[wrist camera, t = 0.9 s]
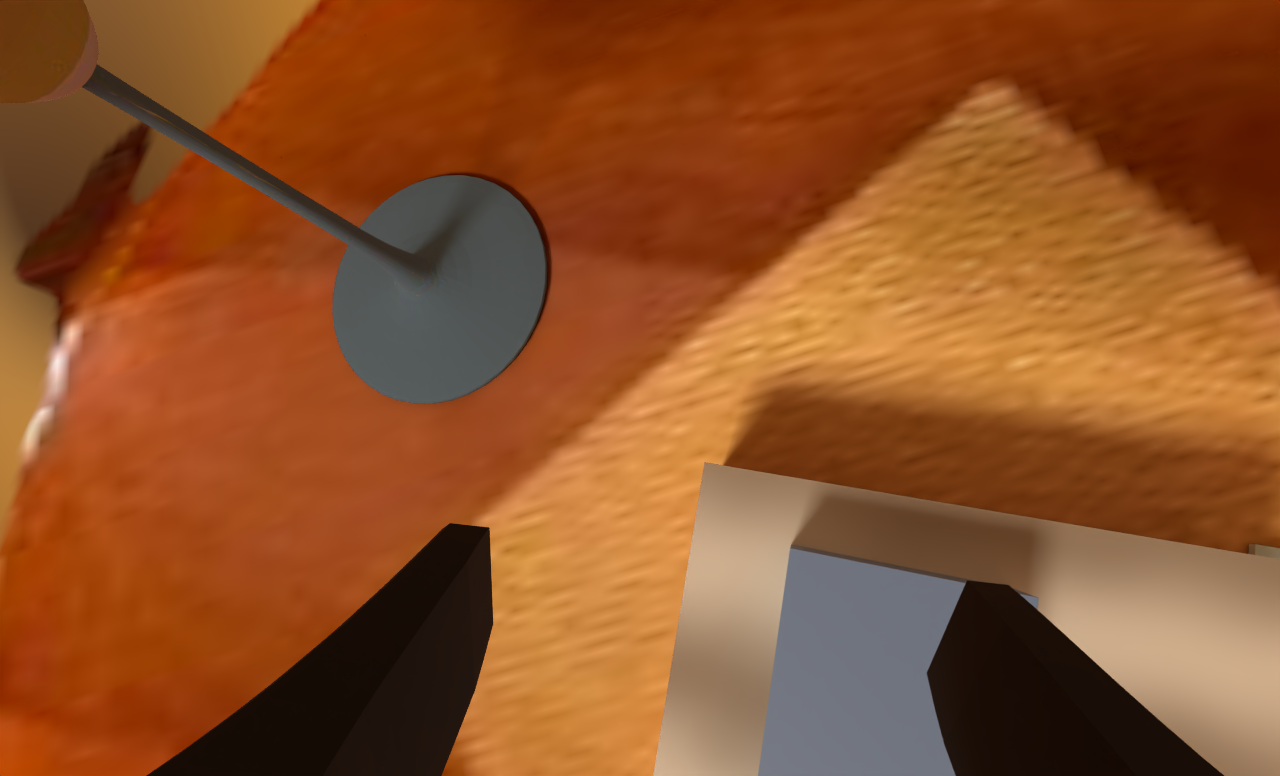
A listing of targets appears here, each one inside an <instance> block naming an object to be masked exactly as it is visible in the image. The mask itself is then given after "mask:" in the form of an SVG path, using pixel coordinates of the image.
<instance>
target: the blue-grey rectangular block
mask: <svg viewBox="0 0 1280 776" xmlns="http://www.w3.org/2000/svg"><path fill="white" fill-rule="evenodd" d="M967 580H969V581H975V580H970V579H965V578H959V577H954V576H949V575H944V574H939V573H934V572H929V571H924V570H919V569H914V568H909V567H904V566H899V565H894V564H889V563H884V562H878V561H873V560H868V559H863V558H858V557H853V556H848V555H843V554H838V553H833V552H828V551H823V550H818V549H813V548H808V547H803V546H798V545H792V544H791V547H790V552H789V559H788V566H787V573H786V580H785V588H784V595H783V602H782V609H781V616H780V623H779V630H778V637H777V644H776V651H775V658H774V665H773V673H772V680H771V687H770V694H769V701H768V708H767V715H766V722H765V729H764V736H763V743H762V750H761V758H760V765H759V772H758V776H956V775H955V773H954V770H953V767H952V765H951V762H950V759H949V756H948V753H947V751H946V748H945V745H944V742H943V738H942V734H941V730H940V727H939V723H938V719H937V715H936V712H935V707H934V703H933V699H932V694H931V690H930V686H929V681H928V677H927V671H928V669H929V666H930V664H931V662H932V659H933V657H934V655H935V653H936V650H937V648H938V646H939V643H940V641H941V639H942V636H943V634H944V632H945V630H946V627H947V625H948V623H949V620H950V618H951V616H952V613H953V611H954V609H955V607H956V604H957V602H958V600H959V597H960V595H961V593H962V591H963V588H964V586H965V584H966V581H967ZM978 582H980V581H978ZM1013 589H1014V588H1013ZM1014 590H1015V591H1016V592H1018V593H1019V594H1020V595H1021V596H1022V597H1024V598H1025V599H1026V600H1027V601H1028V602H1029V603H1030V604H1032V605H1033V606H1034V607H1035V608H1036V609H1037V610H1038V600H1039V598H1038V597H1035V596H1033V595H1030V594H1027V593H1025V592H1022V591H1019V590H1017V589H1014Z"/></svg>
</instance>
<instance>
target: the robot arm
mask: <svg viewBox="0 0 1280 776" xmlns="http://www.w3.org/2000/svg"><path fill="white" fill-rule="evenodd" d="M492 626H493V607H492V581H491V556H490V531H489V528H488V527H479V526H470V525H461V524H452V523H450V524H448V525H447V526H446V527H444V528H443V529H442V530H441V531H440V532H439V533H438V534H437V535H436V536H435V537H434V538H433V539H432V540H431V541H430V542H429V543H428V544H427V545H426V546H425V547H424V548H423V549H422V550H421V551H420V552H419V553H418V554H417V555H416V556H415V557H414V558H413V559H412V560H410V561H409V562H408V563H407V564H406V565H405V566H404V567H403V568H402V569H401V570H400V571H399V572H398V573H397V574H396V575H395V576H394V577H393V578H392V579H391V580H390V581H389V582H388V583H387V584H386V585H384V586H383V587H382V588H381V589H380V590H379V591H378V592H377V593H376V594H375V595H374V596H373V597H371V598H370V599H369V600H368V601H367V602H366V603H365V604H364V605H363V606H362V607H361V608H359V609H358V610H357V611H356V612H355V613H354V614H353V615H352V616H351V617H350V618H348V619H347V620H346V621H345V622H344V623H343V624H342V625H341V626H340V627H339V628H337V629H336V630H335V631H334V632H333V633H332V634H331V635H329V636H328V637H327V638H326V639H325V640H324V641H322V642H321V643H320V644H319V645H318V646H316V647H315V648H314V649H313V650H312V651H310V652H309V653H308V654H307V655H306V656H304V657H303V658H302V659H301V660H300V661H298V662H297V663H296V664H295V665H294V666H292V667H291V668H290V669H289V670H288V671H286V672H285V673H284V674H283V675H282V676H280V677H279V678H278V679H277V680H276V681H274V682H273V683H272V684H271V685H269V686H268V687H267V688H266V689H264V690H263V691H262V692H261V693H259V694H258V695H257V696H255V697H254V698H253V699H252V700H250V701H249V702H248V703H246V704H245V705H244V706H243V707H241V708H240V709H239V710H237V711H236V712H235V713H233V714H232V715H231V716H229V717H228V718H227V719H225V720H224V721H223V722H221V723H220V724H219V725H217V726H216V727H215V728H213V729H212V730H210V731H209V732H208V733H206V734H205V735H204V736H202V737H201V738H200V739H198V740H197V741H195V742H194V743H193V744H191V745H190V746H189V747H187V748H186V749H184V750H183V751H182V752H180V753H179V754H177V755H176V756H174V757H173V758H171V759H170V760H169V761H167V762H166V763H164V764H163V765H161V766H160V767H158V768H157V769H155V770H154V771H152V772H151V773H150V774H148V775H147V776H441V775H442V773H443V770H444V768H445V765H446V763H447V760H448V758H449V755H450V753H451V750H452V748H453V745H454V743H455V740H456V737H457V735H458V732H459V730H460V727H461V725H462V722H463V720H464V717H465V714H466V712H467V709H468V707H469V704H470V701H471V699H472V696H473V694H474V691H475V688H476V685H477V681H478V678H479V674H480V670H481V667H482V663H483V660H484V656H485V652H486V649H487V645H488V641H489V637H490V634H491V630H492ZM927 677H928V681H929V686H930V690H931V694H932V699H933V703H934V707H935V712H936V715H937V719H938V723H939V727H940V730H941V734H942V738H943V742H944V745H945V748H946V751H947V753H948V756H949V759H950V762H951V765H952V767H953V770H954V773H955V775H956V776H1224V775H1223V774H1222V773H1221V772H1219V771H1218V770H1217V769H1216V768H1215V767H1213V766H1212V765H1211V764H1210V763H1209V762H1207V761H1206V760H1205V759H1204V758H1203V757H1201V756H1200V755H1199V754H1198V753H1197V752H1196V751H1195V750H1193V749H1192V748H1191V747H1190V746H1189V745H1188V744H1186V743H1185V742H1184V741H1183V740H1182V739H1181V738H1179V737H1178V736H1177V735H1176V734H1175V733H1174V732H1173V731H1171V730H1170V729H1169V728H1168V727H1167V726H1166V725H1165V724H1163V723H1162V722H1161V721H1160V720H1159V719H1158V718H1157V717H1155V716H1154V715H1153V714H1152V713H1151V712H1150V711H1149V710H1148V709H1146V708H1145V707H1144V706H1143V705H1142V704H1141V703H1140V702H1139V701H1137V700H1136V699H1135V698H1134V697H1133V696H1132V695H1131V694H1130V693H1129V692H1127V691H1126V690H1125V689H1124V688H1123V687H1122V686H1121V685H1120V684H1119V683H1117V682H1116V681H1115V680H1114V679H1113V678H1112V677H1111V676H1110V675H1109V674H1108V673H1106V672H1105V671H1104V670H1103V669H1102V668H1101V667H1100V666H1099V665H1098V664H1097V663H1095V662H1094V661H1093V660H1092V659H1091V658H1090V657H1089V656H1088V655H1087V654H1086V653H1085V652H1083V651H1082V650H1081V649H1080V648H1079V647H1078V646H1077V645H1076V644H1075V643H1074V642H1072V641H1071V640H1070V639H1069V638H1068V637H1067V636H1066V635H1065V634H1064V633H1063V632H1062V631H1060V630H1059V629H1058V628H1057V627H1056V626H1055V625H1054V624H1053V623H1052V622H1051V621H1049V620H1048V619H1047V618H1046V617H1045V616H1044V615H1043V614H1042V613H1041V612H1039V611H1038V610H1037V609H1036V608H1035V607H1034V606H1033V605H1032V604H1030V603H1029V602H1028V601H1027V600H1026V599H1025V598H1024V597H1022V596H1021V595H1020V594H1019V593H1018V592H1016V591H1015V590H1014V589H1013V588H1012V587H1010V586H1009V585H1005V584H996V583H987V582H978V581H969V580H967V581H966V584H965V586H964V588H963V591H962V593H961V595H960V597H959V600H958V602H957V604H956V607H955V609H954V611H953V613H952V616H951V618H950V620H949V623H948V625H947V627H946V630H945V632H944V634H943V636H942V639H941V641H940V643H939V646H938V648H937V650H936V653H935V655H934V657H933V659H932V662H931V664H930V666H929V669H928V671H927Z"/></svg>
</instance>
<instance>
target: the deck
mask: <svg viewBox="0 0 1280 776" xmlns="http://www.w3.org/2000/svg"><path fill="white" fill-rule="evenodd" d="M791 544H792V545H798V546H803V547H808V548H813V549H818V550H823V551H828V552H833V553H838V554H843V555H848V556H853V557H858V558H863V559H868V560H873V561H878V562H884V563H889V564H894V565H899V566H904V567H909V568H914V569H919V570H924V571H929V572H934V573H939V574H944V575H949V576H954V577H959V578H965V579H970V580H975V581H980V582H987V583H996V584H1005V585H1009V586H1010V587H1012V588H1014V589H1017V590H1019V591H1022V592H1025V593H1027V594H1030V595H1033V596H1035V597H1038V598H1039V600H1038V611H1039V612H1041V613H1042V614H1043V615H1044V616H1045V617H1046V618H1047V619H1048V620H1049V621H1051V622H1052V623H1053V624H1054V625H1055V626H1056V627H1057V628H1058V629H1059V630H1060V631H1062V632H1063V633H1064V634H1065V635H1066V636H1067V637H1068V638H1069V639H1070V640H1071V641H1072V642H1074V643H1075V644H1076V645H1077V646H1078V647H1079V648H1080V649H1081V650H1082V651H1083V652H1085V653H1086V654H1087V655H1088V656H1089V657H1090V658H1091V659H1092V660H1093V661H1094V662H1095V663H1097V664H1098V665H1099V666H1100V667H1101V668H1102V669H1103V670H1104V671H1105V672H1106V673H1108V674H1109V675H1110V676H1111V677H1112V678H1113V679H1114V680H1115V681H1116V682H1117V683H1119V684H1120V685H1121V686H1122V687H1123V688H1124V689H1125V690H1126V691H1127V692H1129V693H1130V694H1131V695H1132V696H1133V697H1134V698H1135V699H1136V700H1137V701H1139V702H1140V703H1141V704H1142V705H1143V706H1144V707H1145V708H1146V709H1148V710H1149V711H1150V712H1151V713H1152V714H1153V715H1154V716H1155V717H1157V718H1158V719H1159V720H1160V721H1161V722H1162V723H1163V724H1165V725H1166V726H1167V727H1168V728H1169V729H1170V730H1171V731H1173V732H1174V733H1175V734H1176V735H1177V736H1178V737H1179V738H1181V739H1182V740H1183V741H1184V742H1185V743H1186V744H1188V745H1189V746H1190V747H1191V748H1192V749H1193V750H1195V751H1196V752H1197V753H1198V754H1199V755H1200V756H1201V757H1203V758H1204V759H1205V760H1206V761H1207V762H1209V763H1210V764H1211V765H1212V766H1213V767H1215V768H1216V769H1217V770H1218V771H1219V772H1221V773H1222V774H1223V775H1224V776H1280V559H1275V558H1269V557H1263V556H1257V555H1251V554H1245V553H1239V552H1233V551H1228V550H1222V549H1216V548H1210V547H1204V546H1198V545H1192V544H1186V543H1180V542H1174V541H1168V540H1162V539H1156V538H1150V537H1145V536H1139V535H1133V534H1127V533H1121V532H1115V531H1109V530H1103V529H1097V528H1091V527H1085V526H1079V525H1073V524H1067V523H1062V522H1056V521H1050V520H1044V519H1038V518H1032V517H1026V516H1020V515H1014V514H1008V513H1002V512H996V511H990V510H984V509H979V508H973V507H967V506H961V505H955V504H949V503H943V502H937V501H931V500H925V499H919V498H913V497H907V496H901V495H896V494H890V493H884V492H878V491H872V490H866V489H860V488H854V487H848V486H842V485H836V484H830V483H824V482H818V481H813V480H807V479H801V478H795V477H789V476H783V475H777V474H771V473H765V472H759V471H753V470H747V469H741V468H735V467H730V466H724V465H718V464H712V463H706V462H705V463H704V469H703V476H702V482H701V488H700V494H699V500H698V506H697V512H696V518H695V524H694V531H693V537H692V543H691V549H690V555H689V561H688V567H687V573H686V579H685V586H684V592H683V598H682V604H681V610H680V616H679V622H678V628H677V635H676V641H675V647H674V653H673V659H672V665H671V671H670V677H669V683H668V690H667V696H666V702H665V708H664V714H663V720H662V726H661V732H660V738H659V745H658V751H657V757H656V763H655V769H654V775H653V776H758V772H759V765H760V758H761V750H762V743H763V736H764V729H765V722H766V715H767V708H768V701H769V694H770V687H771V680H772V673H773V665H774V658H775V651H776V644H777V637H778V630H779V623H780V616H781V609H782V602H783V595H784V588H785V580H786V573H787V566H788V559H789V552H790V547H791Z"/></svg>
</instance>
